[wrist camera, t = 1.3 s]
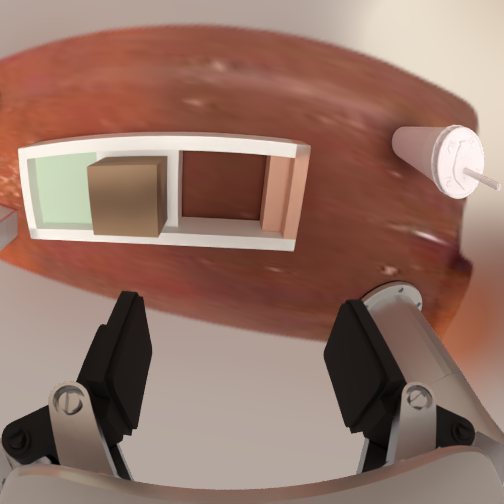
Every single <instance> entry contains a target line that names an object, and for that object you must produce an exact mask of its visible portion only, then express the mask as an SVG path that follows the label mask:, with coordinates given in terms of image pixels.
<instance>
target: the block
mask: <svg viewBox="0 0 504 504" xmlns="http://www.w3.org/2000/svg"><path fill="white" fill-rule="evenodd" d="M87 178H88V190H89V200H90V210H91V218H92V225H93V232H94V235H107V236H132V237H156V238H159V235H160V233H161V231H162V229H163V227H164V225H165V223H166V221H167V219H168V217H167V156H118V157H105V158H103V159H101V160H99V161H97V162H95V163H93V164H91V165H89V166H87Z"/></svg>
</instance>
